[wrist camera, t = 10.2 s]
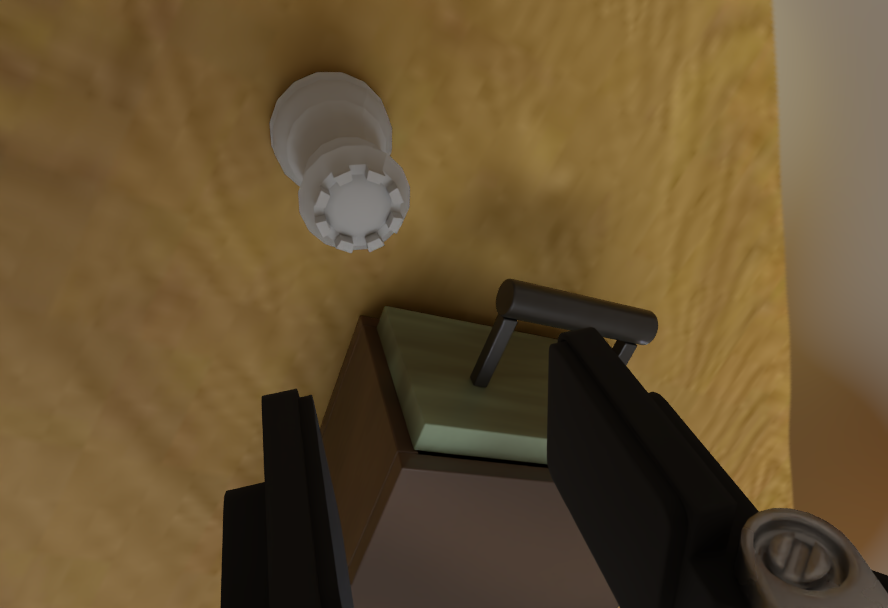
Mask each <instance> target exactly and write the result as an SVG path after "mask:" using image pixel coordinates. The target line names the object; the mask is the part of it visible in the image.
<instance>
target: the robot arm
mask: <svg viewBox="0 0 888 608" xmlns="http://www.w3.org/2000/svg"><path fill="white" fill-rule="evenodd" d="M262 425H263V451H264V476H265V482H263V483H259V484H254V485H250V486H246V487H241V488H237V489H233V490H228V491H226V493H225V496H224V510H223V544H222V577H221V608H354V604H353V598H352V591H351V585H350V579H349V572H348V566H347V560H346V553H345V547H344V540H343V534H342V528H341V522H340V517H339V512H338V507H337V503H336V498H335V494H334V489H333V485H332V481H331V476H330V472H329V467H328V463H327V458H326V454H325V449H324V445H323V441H322V436H321V432H320V427H319V423H318V418H317V414H316V409H315V405H314V401H313V397H312V395H309V396H304V397H299V394H298V390H297V389H293V390H288V391H283V392H279V393H274V394H269V395H264V396H262ZM547 464H548V469H549V472H550V475H551V477H552V480H553V481H554V483H555V485H556V487H557V489H558V491H559V493H560V495H561V497H562V499H563V500H564V502H565V504H566V506H567V508H568V510H569V512H570V514H571V516H572V517H573V519H574V521H575V523H576V525H577V527H578V529H579V531H580V533H581V534H582V536H583V538H584V540H585V542H586V544H587V546H588V548H589V550H590V552H591V553H592V555H593V557H594V559H595V561H596V563H597V565H598V567H599V569H600V570H601V572H602V574H603V576H604V578H605V580H606V582H607V584H608V586H609V587H610V589H611V591H612V593H613V595H614V597H615V599H616V601H617V603H618V604H619V606H620V608H888V576H887V575H884V574H881V573H879V572H875V571H873V570H871V569H870V567H869V566H868V565H867V563H866V562H865V560H864V559H863V558H862V556H861V555H860V553H859V552H858V550H857V549H856V548H855V546H854V545H853V544H852V543H851V542H850V540H849V539H848V538H847V537H846V536H845V535H844V534H843V533H842V532H841V531H840V530H838V529H837V528H835V527H834V526H833V525H831V524H830V523H828V522H827V521H825V520H823V519H821V518H819V517H816V516H814V515H812V514H810V513H807V512H803V511H798V510H794V509H788V508H772V509H768V510H764V511H760V512H759V511H758V510H757V509H756V508H755V506H754V505H753V504H752V503H751V502H750V500H749V499H748V498H747V497H746V496H745V494H744V493H743V492H742V491H741V490H740V488H739V487H738V486H737V485H736V484H735V482H734V481H733V480H732V479H731V478H730V476H729V475H728V474H727V473H726V472H725V470H724V469H723V468H722V467H721V466H720V464H719V463H718V462H717V461H716V460H715V458H714V457H713V456H712V455H711V454H710V452H709V451H708V450H707V449H706V448H705V446H704V445H703V444H702V443H701V442H700V440H699V439H698V438H697V437H696V436H695V434H694V433H693V432H692V431H691V430H690V429H689V427H688V426H687V425H686V424H685V423H684V421H683V420H682V419H681V418H680V417H679V415H678V414H677V413H676V412H675V411H674V409H673V408H672V407H671V406H670V405H669V403H668V402H667V401H666V400H665V399H664V398H663V397H662V396H661V395H660V394H658V393H655V392H650V393H648V392H647V391H646V390H645V389H644V387H643V386H642V385H641V384H640V383H639V381H638V380H637V379H636V378H635V376H634V375H633V374H632V373H631V371H630V370H629V369H628V368H627V366H626V365H625V364H624V363H623V362H622V360H621V359H620V358H619V357H618V355H617V354H616V353H615V352H614V350H613V349H612V348H611V347H610V345H609V344H608V343H607V342H606V341H605V339H604V338H603V337H602V336H601V334H600V333H599V332H598V331H597V330H596V329H595V328H593V327H588V328H583V329H578V330H574V331H569V332H564V333H561V334H560V335H559V337H558V342H557V343H553V344H551V345H550V347H549V361H548V412H547Z"/></svg>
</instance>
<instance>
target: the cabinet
mask: <svg viewBox="0 0 888 608" xmlns="http://www.w3.org/2000/svg"><path fill="white" fill-rule="evenodd" d="M379 320H380V319H376V318H370V317H365V316H360V317H359V320H358V323H357V326H356V329H355V332H354V334H353V337H352V340H351V343H350V346H349V349H348V351H347V354H346V357H345V360H344V363H343V366H342V368H341V371H340V374H339V377H338V380H337V382H336V385H335V388H334V391H333V394H332V397H331V399H330V402H329V405H328V408H327V411H326V414H325V416H324V419H323V422H322V425H321V428H320V432H321V436H322V441H323V445H324V449H325V454H326V458H327V463H328V467H329V472H330V476H331V481H332V485H333V489H334V494H335V498H336V503H337V507H338V512H339V517H340V522H341V528H342V534H343V540H344V547H345V553H346V560H347V566H348V572H349V579H350V585H351V591H352V598H353V604H354V608H618V606H619V604H618V603H617V601H616V599H615V597H614V595H613V593H612V591H611V589H610V587H609V586H608V584H607V582H606V580H605V578H604V576H603V574H602V572H601V570H600V569H599V567H598V565H597V563H596V561H595V559H594V557H593V555H592V553H591V552H590V550H589V548H588V546H587V544H586V542H585V540H584V538H583V536H582V534H581V533H580V531H579V529H578V527H577V525H576V523H575V521H574V519H573V517H572V516H571V514H570V512H569V510H568V508H567V506H566V504H565V502H564V500H563V499H562V497H561V495H560V493H559V491H558V489H557V487H556V485H555V483H554V481H553V480H552V477H551V475H550V472H549V469H548V468H543V467H534V466H525V465H515V464H506V463H497V462H487V461H478V460H469V459H459V458H450V457H441V456H431V455H422V454H418V450H414V448H413V445H412V442H411V439H410V435H409V432H408V429H407V425H406V422H405V419H404V416H403V412H402V409H401V406H400V403H399V399H398V396H397V393H396V390H395V386H394V383H393V380H392V377H391V373H390V370H389V367H388V364H387V360H386V357H385V354H384V351H383V347H382V344H381V341H380V337H379V334H378V331H377V325H378V323H379Z"/></svg>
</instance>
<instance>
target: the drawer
mask: <svg viewBox="0 0 888 608" xmlns="http://www.w3.org/2000/svg"><path fill="white" fill-rule="evenodd" d="M496 309H497V312H498V316H497V318H496V320H495V323H494V325H493V327H491V326H486V325H481V324H476V323H470V322H465V321H460V320H455V319H450V318H445V317H440V316H435V315H430V314H424V313H419V312H414V311H409V310H404V309H399V308H394V307H389V306H385V307H384V309H383V312H382V315H381V317H380V320H379V323H378V325H377V331H378V334H379V337H380V341H381V344H382V347H383V351H384V354H385V357H386V360H387V364H388V367H389V370H390V373H391V377H392V380H393V383H394V386H395V390H396V393H397V396H398V399H399V403H400V406H401V409H402V412H403V416H404V419H405V422H406V425H407V429H408V432H409V435H410V439H411V442H412V445H413V448H414V450H418V454H422V455H431V456H441V457H450V458H459V459H469V460H478V461H487V462H497V463H506V464H515V465H525V466H534V467H543V468H548V464H547V412H548V361H549V347H550V345H551V344H553V343H557V342H558V340H557V339H552V338H547V337H542V336H537V335H532V334H527V333H522V332H517V331H514V329H515V327H516V325H517V320H521V321H526V322H531V323H536V324H541V325H546V326H551V327H556V328H561V329H566V330H570V331H574V330H578V329H583V328H588V327H593V328H595V329H596V330H597V331H598V332H599V333H600V334H601V336H602V337H605V338H610V339H615V340H617V341H616V343H615V344H614V346H613V348H612V349H613V350H614V352H615V353H616V354H617V355H618V357H619V358H620V359H621V360H622V362H623V363H624V364H625V365H627V363H628V361H629V360H630V358H631V356H632V354H633V353H634V351H635V349H636V347H637V345H636V344H639V345H646V344H649V343H650V342H651V341H652V340H653V339H654V338H655V336H656V333H657V330H658V321H657V317H656V316H655V314H654V313H653V312H651V311H649V310H644V309H640V308H636V307H631V306H627V305H623V304H618V303H614V302H610V301H605V300H601V299H597V298H592V297H588V296H584V295H579V294H575V293H570V292H566V291H562V290H557V289H553V288H549V287H544V286H540V285H536V284H531V283H527V282H523V281H518V280H514V279H507V280H505V281H504V282H503V283H502V284H501V286H500V288H499V290H498V293H497V297H496Z"/></svg>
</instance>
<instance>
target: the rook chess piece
mask: <svg viewBox="0 0 888 608" xmlns="http://www.w3.org/2000/svg"><path fill="white" fill-rule="evenodd" d="M270 135H271V146H272V148H273V150H274V154H275V156H276V158H277V160H278V162H279V164H280V166H281V167H282V169H283V171H284V173H285V175H287V176H288V177H289V178H290V179H291V180H293V181H294V182H295V183H296V184H297V185H298V186H300V189H299V191H298V195H299V211H300V214H301V216H302V218H303V220H304V222H305V224H306V226H307V228H308V230H309V231H310V232H311V233H312V234H313V235H315V236H316V237H317V238H318V239H320V240H321V241H322V242H323V243H325V244H327V245H330V246H333V247H336V249H340V250H343V251H346V252H349V253H352V251H353V250H358V249H368V251H369V252H371V251H373V250H375V249H378V248H380V247H382V246H384V241H386V240H387V239H388V238H389V237H390V236H391V235H392V234H393V233H396V234H397V232H398V230H399V228H400V226H401V225H402V223H403V220H404V218H405V216H406V214H407V212H408V209H409V203H410V186H409V184H408V181H407V179H406V176H405V174H404V171H403V169H402V167H401V166H400V165H398V164H397V163H396V162H395V161H394V160H393V159H392V158H391V157H390V154H391V151H392V126H391V124H390V120H389V118H388V115H387V113H386V110H385V108H384V105H383V103H382V100H381V98H380V97H379V96H378V95H377V94H376V93H375V92H374V91H373V90H372V89H371V88H370V87H369V86H368V85H367V84H366V83H365V82H364V81H361V80H359V79H356V78H354V77H352V76H349V75H347V74H345V73H342V72H316V73H314V74H311V75H309V76H307V77H304V78H302V79H300V80H297V81H295V82H294V83H293V84H292V85H291V86H290V87H289V88H288V89H287V90H286V91H285V92H284V93H283V94H282V95H281V96H280V98H279V99H278V100H277V102H276V105H275V108H274V111H273V114H272V117H271V120H270Z"/></svg>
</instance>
